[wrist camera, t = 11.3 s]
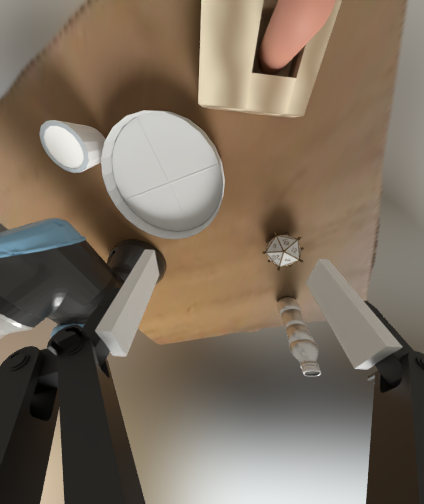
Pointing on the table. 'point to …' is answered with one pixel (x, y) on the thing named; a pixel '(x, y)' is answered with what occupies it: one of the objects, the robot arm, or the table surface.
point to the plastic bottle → (299, 336)
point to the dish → (163, 173)
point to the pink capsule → (291, 31)
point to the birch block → (253, 61)
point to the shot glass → (72, 145)
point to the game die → (283, 250)
